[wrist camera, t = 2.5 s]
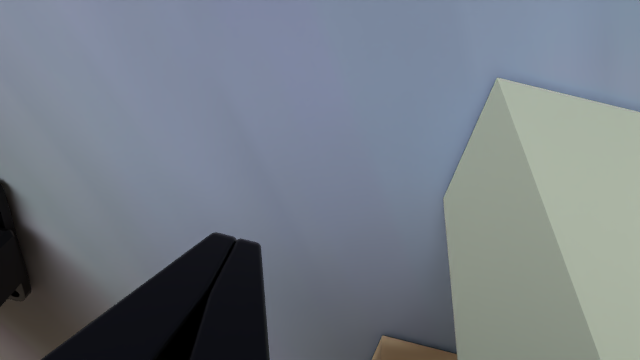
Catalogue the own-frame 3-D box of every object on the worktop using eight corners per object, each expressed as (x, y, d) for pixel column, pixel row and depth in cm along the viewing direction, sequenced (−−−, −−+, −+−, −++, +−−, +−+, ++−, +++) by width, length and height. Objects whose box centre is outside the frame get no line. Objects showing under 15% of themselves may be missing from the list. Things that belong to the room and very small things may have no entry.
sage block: (443, 198, 14) (475, 563, 7) (497, 77, 12) (630, 440, 5) (573, 230, 14) (741, 633, 7) (653, 115, 12) (1037, 544, 5)
